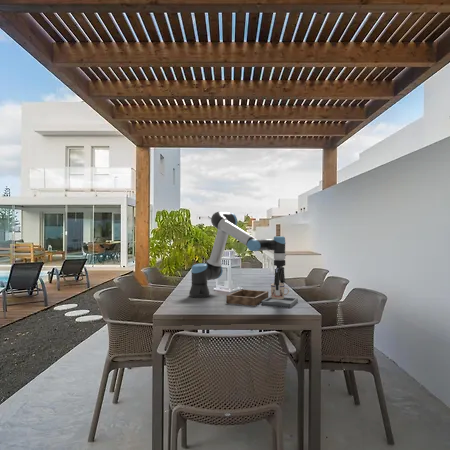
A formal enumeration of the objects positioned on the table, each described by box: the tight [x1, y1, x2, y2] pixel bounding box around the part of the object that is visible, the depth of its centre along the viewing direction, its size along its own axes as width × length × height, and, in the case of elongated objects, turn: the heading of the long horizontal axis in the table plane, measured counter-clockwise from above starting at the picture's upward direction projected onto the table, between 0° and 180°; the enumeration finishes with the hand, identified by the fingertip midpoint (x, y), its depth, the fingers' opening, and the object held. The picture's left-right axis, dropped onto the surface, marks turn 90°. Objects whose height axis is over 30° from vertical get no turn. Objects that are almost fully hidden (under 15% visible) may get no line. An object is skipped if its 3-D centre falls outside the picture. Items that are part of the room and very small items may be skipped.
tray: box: [260, 295, 299, 309], centre depth 226 cm, size 19×19×2 cm
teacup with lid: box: [270, 282, 290, 300], centre depth 226 cm, size 12×9×12 cm
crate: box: [225, 289, 269, 306], centre depth 235 cm, size 20×26×5 cm
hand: (279, 293), depth 226 cm, fingers closed on teacup with lid, 9 cm apart
